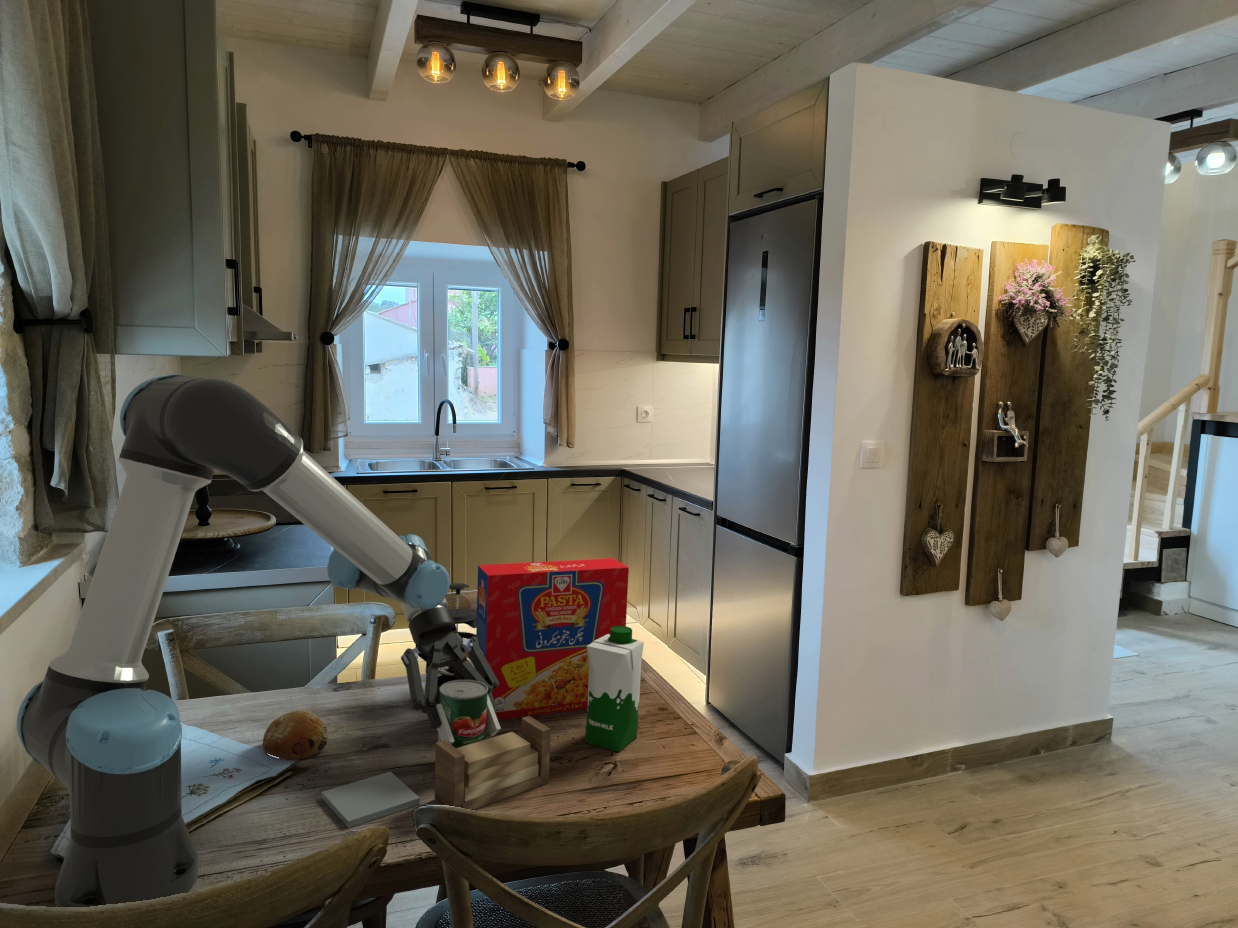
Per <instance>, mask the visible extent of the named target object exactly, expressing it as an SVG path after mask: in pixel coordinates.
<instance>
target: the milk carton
mask: <svg viewBox="0 0 1238 928" xmlns="http://www.w3.org/2000/svg"><path fill="white" fill-rule="evenodd" d="M644 642H645V641H642V640H638V639H634V638H633V628H631V627H629V626H627V625H626V626H614V627H611V628H610V634H607V635H605V636H603V637H601V638H599V639H597V640H595V641H593V643H591V644H589V645H587V652H588V659H589V679H588V704H587V709H586V712H587V713H586V721H585V722H586V723H585V733H584V735H585V737H584V743H586V744H588V745H593V746H596V747H600V748H603V749H607V750H611V751H614V752H617V751H618V753H620V752H621V751H622V750H624V749H625V748H626V747H627V746H628V745H630V743H632V742H633V741H634V740H635V739H636V738H638V725H639V711H640V693H641V671H642V660H643V653H644V646H645V645H644ZM631 741H632V742H631Z"/></svg>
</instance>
